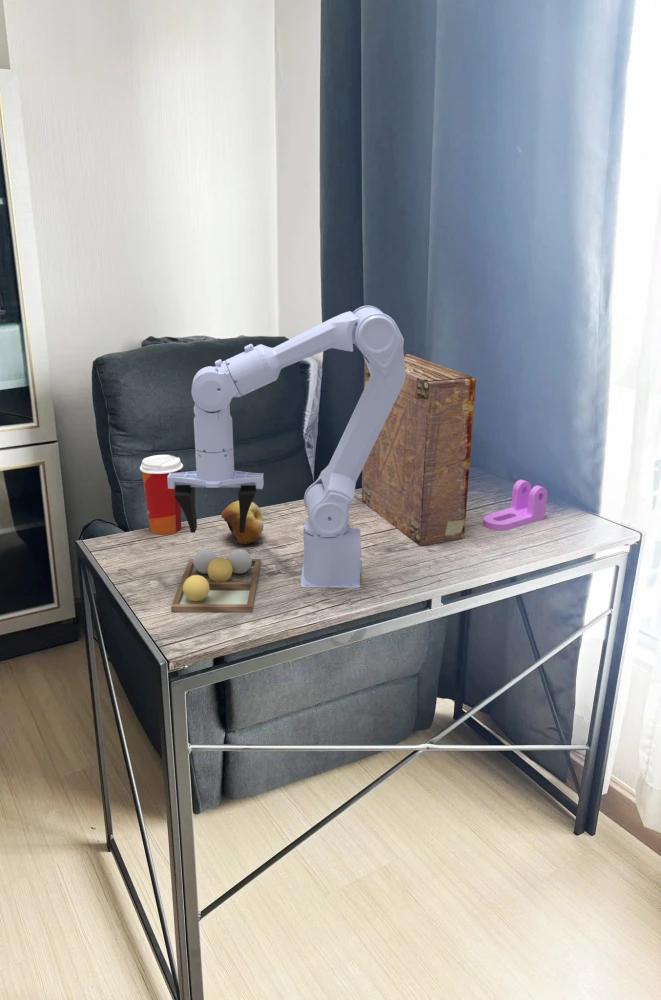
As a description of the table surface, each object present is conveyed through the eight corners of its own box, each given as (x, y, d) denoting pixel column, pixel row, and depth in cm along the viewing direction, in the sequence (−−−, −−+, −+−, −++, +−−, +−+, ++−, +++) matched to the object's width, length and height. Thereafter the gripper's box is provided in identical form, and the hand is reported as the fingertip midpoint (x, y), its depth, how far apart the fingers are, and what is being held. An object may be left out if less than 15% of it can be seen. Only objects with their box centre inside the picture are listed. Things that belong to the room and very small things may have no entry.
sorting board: (260, 567, 136) (260, 557, 135) (252, 615, 120) (251, 605, 119) (189, 566, 136) (189, 557, 135) (171, 615, 120) (170, 605, 119)
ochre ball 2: (234, 576, 131) (233, 553, 130) (231, 587, 128) (230, 564, 126) (209, 575, 131) (208, 553, 130) (206, 586, 128) (205, 564, 126)
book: (361, 501, 166) (364, 356, 156) (400, 495, 170) (406, 353, 159) (420, 546, 144) (428, 382, 134) (464, 539, 148) (476, 377, 137)
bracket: (523, 510, 162) (526, 478, 159) (544, 519, 158) (548, 485, 155) (476, 524, 155) (479, 490, 152) (497, 533, 151) (500, 498, 148)
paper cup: (168, 520, 155) (163, 451, 150) (195, 530, 151) (191, 459, 146) (135, 532, 150) (129, 460, 145) (162, 543, 145) (157, 469, 140)
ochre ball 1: (211, 593, 125) (210, 570, 124) (208, 606, 121) (206, 582, 120) (186, 593, 125) (184, 570, 124) (181, 605, 121) (180, 582, 120)
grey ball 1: (219, 567, 134) (218, 545, 133) (216, 577, 131) (215, 555, 129) (195, 567, 134) (194, 545, 133) (192, 577, 131) (190, 555, 129)
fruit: (243, 555, 140) (242, 512, 138) (212, 542, 145) (210, 501, 143) (274, 542, 146) (273, 501, 143) (242, 530, 151) (241, 490, 148)
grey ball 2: (253, 567, 134) (252, 545, 133) (251, 578, 131) (250, 555, 129) (229, 567, 134) (228, 545, 133) (226, 577, 131) (225, 555, 129)
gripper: (161, 455, 118) (167, 540, 123) (260, 455, 118) (262, 540, 123) (170, 441, 124) (175, 522, 129) (263, 442, 125) (265, 523, 129)
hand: (218, 530), depth 126 cm, fingers open, 7 cm apart
